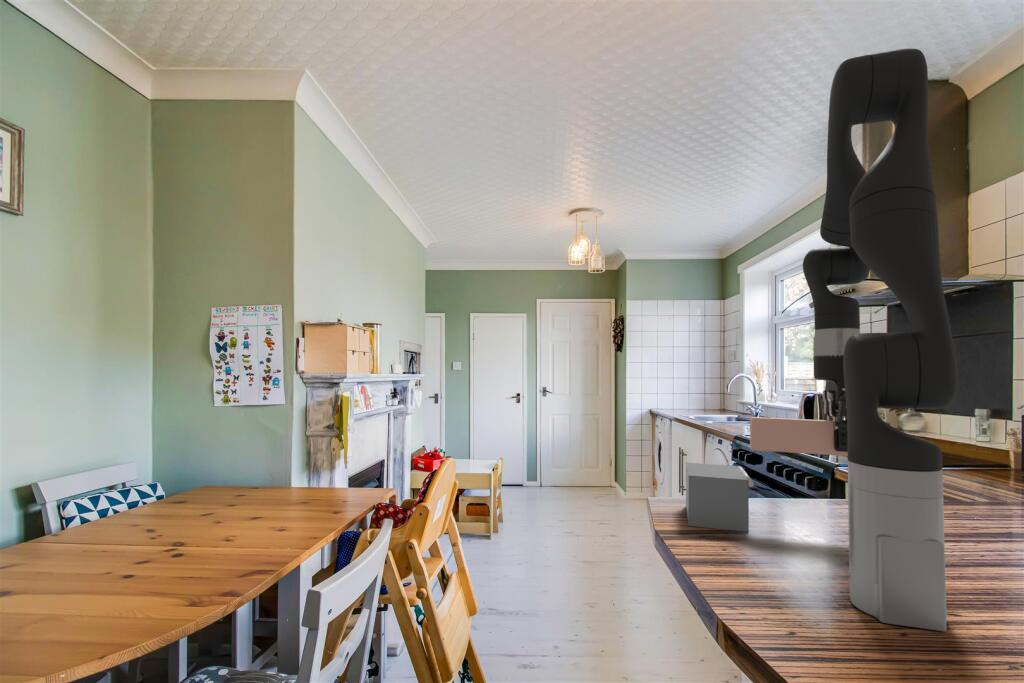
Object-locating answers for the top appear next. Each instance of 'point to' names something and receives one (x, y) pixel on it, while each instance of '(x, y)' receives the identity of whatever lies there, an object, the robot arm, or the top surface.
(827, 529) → the top surface
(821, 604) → the top surface
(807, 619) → the top surface
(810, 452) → the tan rectangular block
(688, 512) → the grey bevelled box
